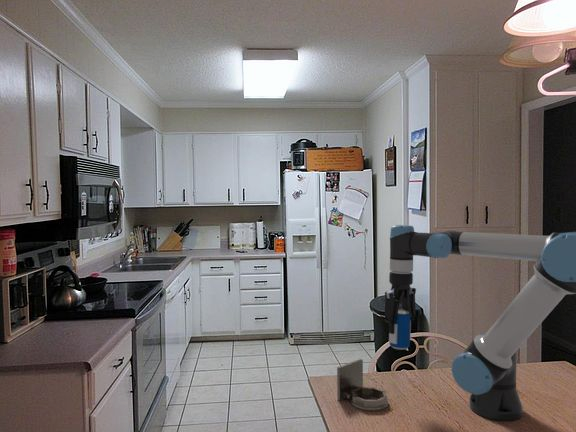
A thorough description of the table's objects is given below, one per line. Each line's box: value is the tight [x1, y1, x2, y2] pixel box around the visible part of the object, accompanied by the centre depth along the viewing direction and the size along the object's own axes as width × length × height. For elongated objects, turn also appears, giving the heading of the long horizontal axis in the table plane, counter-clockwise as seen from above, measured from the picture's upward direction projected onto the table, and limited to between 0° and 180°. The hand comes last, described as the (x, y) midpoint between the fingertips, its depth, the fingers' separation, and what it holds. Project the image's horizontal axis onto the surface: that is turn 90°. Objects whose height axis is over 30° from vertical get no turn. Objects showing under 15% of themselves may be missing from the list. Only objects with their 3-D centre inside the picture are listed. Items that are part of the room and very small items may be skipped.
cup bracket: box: [336, 358, 389, 412], centre depth 148 cm, size 14×12×11 cm
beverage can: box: [389, 308, 411, 350], centre depth 150 cm, size 6×6×12 cm
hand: (399, 340), depth 150 cm, fingers closed on beverage can, 6 cm apart
